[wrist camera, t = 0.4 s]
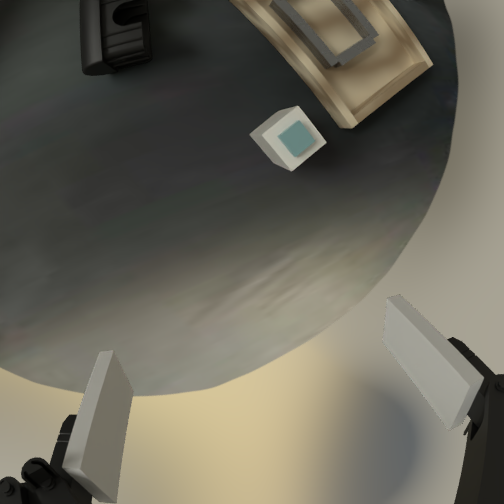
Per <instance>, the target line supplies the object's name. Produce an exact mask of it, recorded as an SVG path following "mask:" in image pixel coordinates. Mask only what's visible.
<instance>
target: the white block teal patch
mask: <svg viewBox="0 0 504 504" xmlns="http://www.w3.org/2000/svg"><path fill="white" fill-rule="evenodd" d="M249 135H250V136H251V137H252V138H253V140H254V141H255V142H256V143H257V144H258V145H259V147H260V148H261V149H262V150H263V151H264V152H265V154H266V155H267V156H268V157H269V158H270V160H271V161H272V162H273V163H274V164H277V165H279V166H281V167H283V168H285V169H288V170H290V171H293V170H294V169H295V168H297V167H298V166H299V165H300V164H301V163H303V162H304V161H305V160H306V159H307V158H309V157H310V156H311V155H312V154H313V153H315V152H316V151H317V150H318V149H319V148H321V147H322V146H323V145H324V144H326V143H327V142H326V141H325V140H324V138H323V137H322V136H321V134H320V133H319V132H318V130H317V129H316V128H315V126H314V125H313V124H312V123H311V121H310V120H309V119H308V117H307V116H306V115H305V114H304V112H303V111H302V110H301V109H300V107H299V106H295V107H291V108H287V109H284V110H280V111H278V112H276V113H275V114H274V115H272V116H271V117H270V118H269V119H267V120H266V121H265V122H264V123H263V124H261V125H260V126H259V127H258V128H256V129H255V130H254V131H253V132H252V133H250V134H249Z"/></svg>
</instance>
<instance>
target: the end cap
mask: <svg viewBox="0 0 504 504" xmlns="http://www.w3.org/2000/svg"><path fill="white" fill-rule="evenodd" d="M80 43H81V61H82V71H83V73H84V74H85V75H90V76H97V75H105V74H111V73H115V72H118V69H122V68H126V67H130V66H134V65H138V64H142V63H147V62H149V61H151V60H152V48H151V38H150V26H149V14H148V1H147V0H80Z"/></svg>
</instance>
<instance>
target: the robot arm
mask: <svg viewBox="0 0 504 504" xmlns="http://www.w3.org/2000/svg"><path fill="white" fill-rule="evenodd" d="M383 343H384V345H385V346H386V347H387V349H388V350H389V351H390V352H391V354H392V355H393V356H394V358H395V359H396V360H397V361H398V363H399V364H400V365H401V367H402V368H403V369H404V371H405V372H406V373H407V375H408V376H409V377H410V379H411V380H412V381H413V383H414V384H415V385H416V387H417V388H418V389H419V391H420V392H421V393H422V395H423V396H424V398H425V399H426V400H427V402H428V403H429V404H430V406H431V407H432V408H433V410H434V411H435V413H436V414H437V415H438V417H439V418H440V419H441V421H442V422H443V424H444V425H445V426H446V428H447V429H448V431H450V430H452V429H453V428H455V427H457V426H459V425H461V424H463V422H464V420H465V418H466V416H467V415H468V416H469V417H470V419H471V420H470V422H469V424H468V426H467V428H466V430H465V431H464V435H466V433H467V432H468V436H467V443H466V450H465V456H464V461H463V467H462V472H461V477H460V482H459V486H458V490H457V494H456V499H455V503H454V504H504V374H498V375H495V374H494V373H493V372H492V371H491V370H490V369H489V368H488V367H487V366H486V365H485V364H484V363H483V362H482V361H481V360H480V359H479V358H478V357H477V356H475V354H474V353H473V352H472V351H471V350H469V348H468V347H467V346H466V345H465V344H464V343H463V342H462V341H460V340H458V339H456V338H454V337H452V338H449V339H446V338H445V337H444V336H443V335H442V334H441V333H440V332H439V331H438V330H437V329H436V328H435V327H434V326H433V325H432V324H431V323H429V321H428V320H426V319H425V318H424V317H423V316H422V315H421V314H420V313H419V312H418V311H417V310H416V309H415V308H414V307H413V306H412V305H411V304H410V303H409V302H407V301H406V300H405V299H404V298H403V297H402V296H401V295H400V294H399V295H396V296H392V297H389V298H387V304H386V315H385V324H384V334H383ZM133 392H134V391H133V389H132V387H131V385H130V383H129V381H128V379H127V377H126V375H125V373H124V371H123V369H122V367H121V365H120V363H119V360H118V358H117V356H116V354H115V352H114V350H112V351H102V352H99V355H98V358H97V360H96V363H95V366H94V368H93V371H92V374H91V376H90V379H89V382H88V385H87V388H86V390H85V393H84V396H83V399H82V402H81V405H80V408H79V411H78V414H77V415H69V416H68V417H67V418H66V420H65V421H64V422H63V424H62V427H61V430H60V435H59V436H58V439H57V443H56V445H55V448H54V451H53V455H52V458H51V461H50V465H49V464H48V463H47V462H46V461H45V460H44V459H42V458H32V459H30V460H28V461H27V462H26V463H25V464H24V466H23V467H22V472H21V475H22V479H23V480H24V481H25V483H19V482H18V481H17V480H16V479H15V478H13V477H5V478H3V479H1V480H0V504H92V503H91V501H92V496H93V497H94V498H95V499H97V500H98V501H99V502H105V503H117V494H118V485H119V477H120V469H121V462H122V455H123V449H124V443H125V436H126V430H127V425H128V419H129V413H130V407H131V403H132V397H133Z"/></svg>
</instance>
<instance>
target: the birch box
mask: <svg viewBox="0 0 504 504" xmlns="http://www.w3.org/2000/svg"><path fill="white" fill-rule="evenodd" d="M229 1H230V2H231V3H232V4H233V5H234V6H235V7H236V8H237V9H238V10H239V11H240V12H241V13H242V14H243V15H244V16H245V17H246V18H247V19H248V20H249V21H250V22H251V23H252V24H253V25H254V26H255V27H256V28H257V29H258V30H259V31H260V32H261V33H262V34H263V35H264V36H265V37H266V38H267V39H268V41H269V42H270V43H271V44H272V45H273V46H274V47H275V48H276V49H277V50H278V52H279V53H280V54H281V55H282V56H283V57H284V58H285V60H286V61H287V62H288V63H289V64H290V65H291V66H292V68H293V69H294V70H295V71H296V72H297V74H298V75H299V76H300V77H301V78H302V80H303V81H304V82H305V83H306V85H307V86H308V87H309V88H310V90H311V91H312V92H313V93H314V95H315V96H316V97H317V98H318V100H319V101H320V102H321V104H322V105H323V106H324V107H325V109H326V110H327V111H328V113H329V114H330V115H331V117H332V118H333V120H334V121H335V122H336V124H337V125H338V126H339V128H353V127H355V126H356V125H357V124H358V123H360V122H361V121H362V120H363V119H365V118H366V117H367V116H368V115H370V114H371V113H372V112H373V111H375V110H376V109H377V108H378V107H380V106H381V105H382V104H383V103H385V102H386V101H387V100H388V99H390V98H391V97H392V96H393V95H395V94H396V93H397V92H399V91H400V90H401V89H402V88H404V87H405V86H406V85H407V84H409V83H410V82H411V81H413V80H414V79H415V78H417V77H418V76H419V75H420V74H422V73H423V72H424V71H426V70H427V69H428V68H430V67H431V66H432V65H433V63H432V62H431V60H430V58H429V57H428V55H427V53H426V52H425V50H424V49H423V47H422V46H421V44H420V43H419V41H418V40H417V38H416V37H415V35H414V34H413V32H412V31H411V29H410V28H409V26H408V25H407V24H406V22H405V21H404V19H403V18H402V17H401V15H400V14H399V13H398V11H397V10H396V9H395V7H394V6H393V5H392V4H391V2H390V1H389V0H352V1H353V3H354V4H355V5H356V6H357V7H358V9H359V10H360V11H361V12H362V13H363V15H364V16H365V17H366V18H367V20H368V21H369V22H370V23H371V25H372V26H373V27H374V29H375V30H376V31H377V33H378V34H379V35H378V36H377V37H375V38H374V41H375V42H376V43H375V44H373V45H372V46H370V47H369V48H367V49H366V50H364V51H363V52H361V53H360V54H358V55H357V56H355V57H354V58H353V59H351V60H350V61H348V62H347V63H345V64H344V65H342V66H340V67H337V68H335V67H334V66H332V67H330V68H327V69H325V68H324V67H323V66H322V65H321V63H320V62H319V61H318V60H317V59H316V57H315V56H314V55H313V54H312V53H311V51H310V50H309V49H308V48H307V47H306V45H305V44H304V43H303V42H302V41H301V40H300V39H299V37H298V36H297V35H296V34H295V33H294V32H293V31H292V30H291V29H290V27H289V26H288V25H287V24H286V23H285V22H284V21H283V20H282V19H281V18H280V17H279V16H278V15H277V14H276V13H275V11H274V10H273V9H272V8H271V7H270V6H269V5H270V3H271V2H272V0H229ZM287 2H288V3H289V4H290V5H291V6H292V7H293V8H294V9H295V10H296V11H297V12H298V14H299V15H300V16H301V17H302V18H303V19H304V20H305V21H306V22H307V23H308V25H309V26H310V27H311V28H312V29H313V30H314V31H315V33H316V34H317V35H318V36H319V37H320V38H321V40H322V41H323V42H324V43H325V44H326V46H327V47H328V48H329V49H330V50H331V52H332V53H333V54H334V55H335V56H337V55H338V54H339V53H341V52H342V51H344V50H345V49H347V48H349V47H350V46H352V45H353V44H355V43H356V42H358V41H359V40H361V39H362V37H361V36H360V35H359V33H358V32H357V31H356V30H355V28H354V27H353V26H352V25H351V23H350V22H349V21H348V20H347V18H346V17H345V16H344V15H343V14H342V13H341V11H340V10H339V9H338V8H337V7H336V6H335V5H334V3H333V2H332V1H331V0H287Z"/></svg>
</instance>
